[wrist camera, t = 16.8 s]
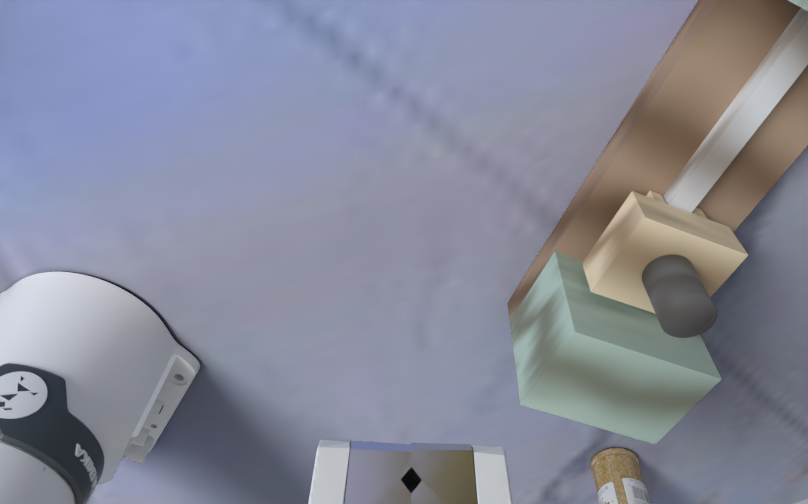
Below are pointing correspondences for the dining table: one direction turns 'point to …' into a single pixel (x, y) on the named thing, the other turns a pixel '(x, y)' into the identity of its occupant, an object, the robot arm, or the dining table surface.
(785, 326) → the dining table surface
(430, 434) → the dining table surface
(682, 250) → the carriage
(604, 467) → the sprinkles bottle
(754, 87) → the rail bed
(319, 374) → the dining table surface
